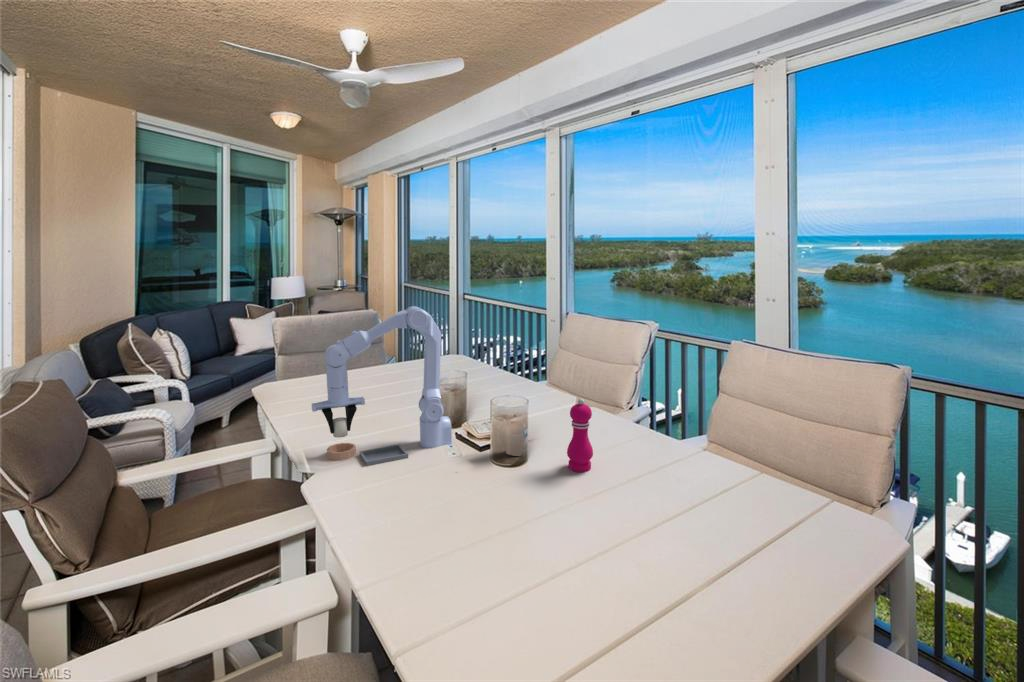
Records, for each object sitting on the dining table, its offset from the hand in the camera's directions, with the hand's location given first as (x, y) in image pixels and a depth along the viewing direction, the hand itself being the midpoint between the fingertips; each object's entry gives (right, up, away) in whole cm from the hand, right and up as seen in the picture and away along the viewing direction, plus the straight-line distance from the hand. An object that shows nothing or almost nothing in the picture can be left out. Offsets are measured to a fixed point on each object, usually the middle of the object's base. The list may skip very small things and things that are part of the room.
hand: (340, 431), depth 143 cm
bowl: (0, -8, +1) cm, 8 cm away
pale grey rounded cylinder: (0, -1, 0) cm, 1 cm away
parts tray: (+13, -8, 0) cm, 15 cm away
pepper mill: (+70, -9, -6) cm, 70 cm away
